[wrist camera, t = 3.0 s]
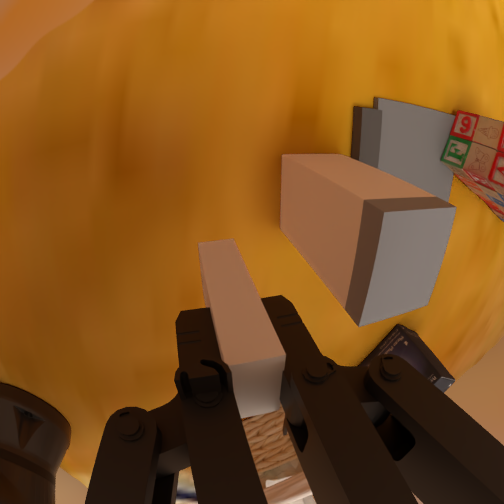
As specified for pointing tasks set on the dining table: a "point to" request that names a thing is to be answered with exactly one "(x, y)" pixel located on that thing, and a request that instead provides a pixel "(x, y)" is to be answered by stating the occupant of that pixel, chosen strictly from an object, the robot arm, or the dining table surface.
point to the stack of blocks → (478, 157)
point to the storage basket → (276, 460)
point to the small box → (413, 356)
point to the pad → (404, 143)
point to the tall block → (364, 233)
